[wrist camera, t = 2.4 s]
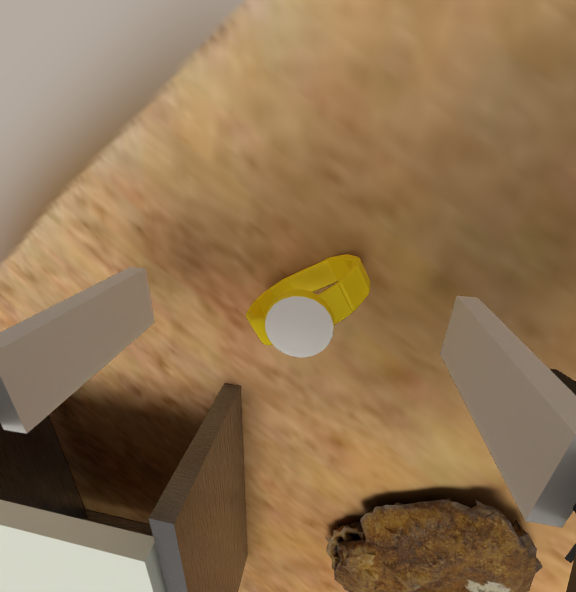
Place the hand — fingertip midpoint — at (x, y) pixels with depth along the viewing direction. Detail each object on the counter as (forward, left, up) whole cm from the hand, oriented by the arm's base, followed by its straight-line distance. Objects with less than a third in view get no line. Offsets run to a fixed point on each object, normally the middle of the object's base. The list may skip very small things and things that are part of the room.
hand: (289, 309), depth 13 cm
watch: (0, 0, -5) cm, 5 cm away
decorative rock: (-10, +21, -5) cm, 24 cm away
